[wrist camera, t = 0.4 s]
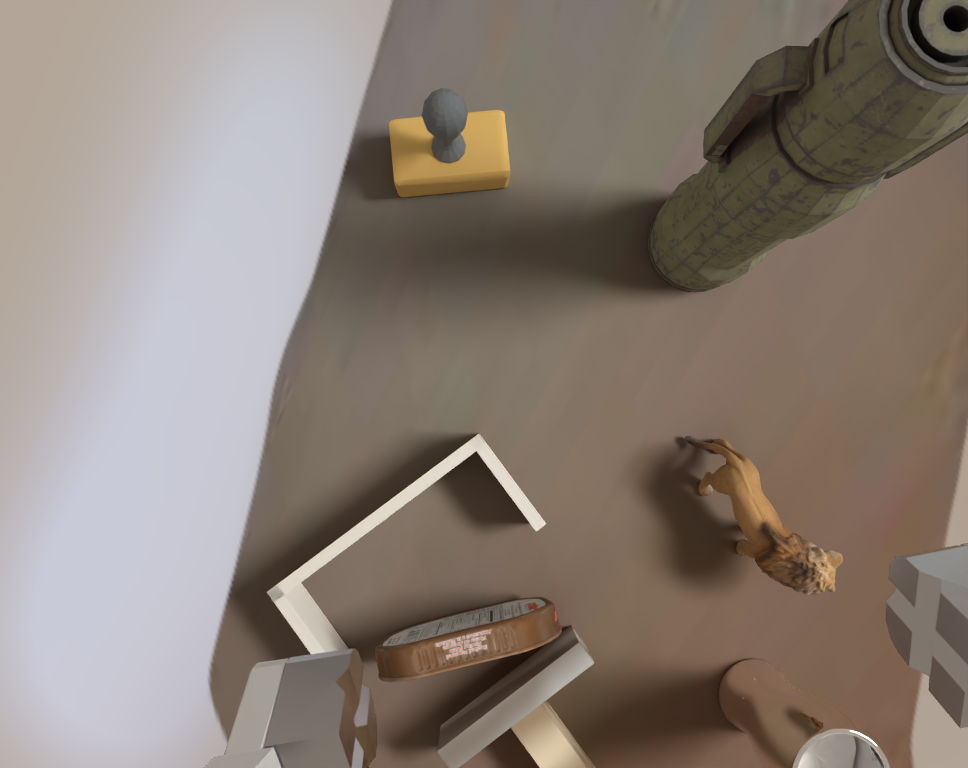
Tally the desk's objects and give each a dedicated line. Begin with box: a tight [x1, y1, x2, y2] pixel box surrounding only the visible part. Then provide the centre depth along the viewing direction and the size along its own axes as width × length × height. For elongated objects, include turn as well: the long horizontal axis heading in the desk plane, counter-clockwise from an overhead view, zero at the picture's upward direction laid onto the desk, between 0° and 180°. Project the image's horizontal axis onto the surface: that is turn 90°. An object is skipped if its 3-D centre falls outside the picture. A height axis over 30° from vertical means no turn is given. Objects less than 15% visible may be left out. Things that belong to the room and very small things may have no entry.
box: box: [267, 434, 546, 654], centre depth 59 cm, size 9×21×5 cm, turn 127°
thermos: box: [648, 0, 968, 292], centre depth 46 cm, size 9×12×35 cm
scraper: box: [437, 626, 596, 768], centre depth 58 cm, size 16×14×5 cm
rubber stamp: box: [389, 88, 510, 197], centre depth 58 cm, size 10×6×12 cm, turn 96°
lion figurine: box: [685, 436, 843, 594], centre depth 58 cm, size 15×5×9 cm, turn 38°
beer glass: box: [719, 659, 890, 768], centre depth 53 cm, size 7×7×15 cm
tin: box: [375, 597, 562, 682], centre depth 57 cm, size 15×3×8 cm, turn 103°
